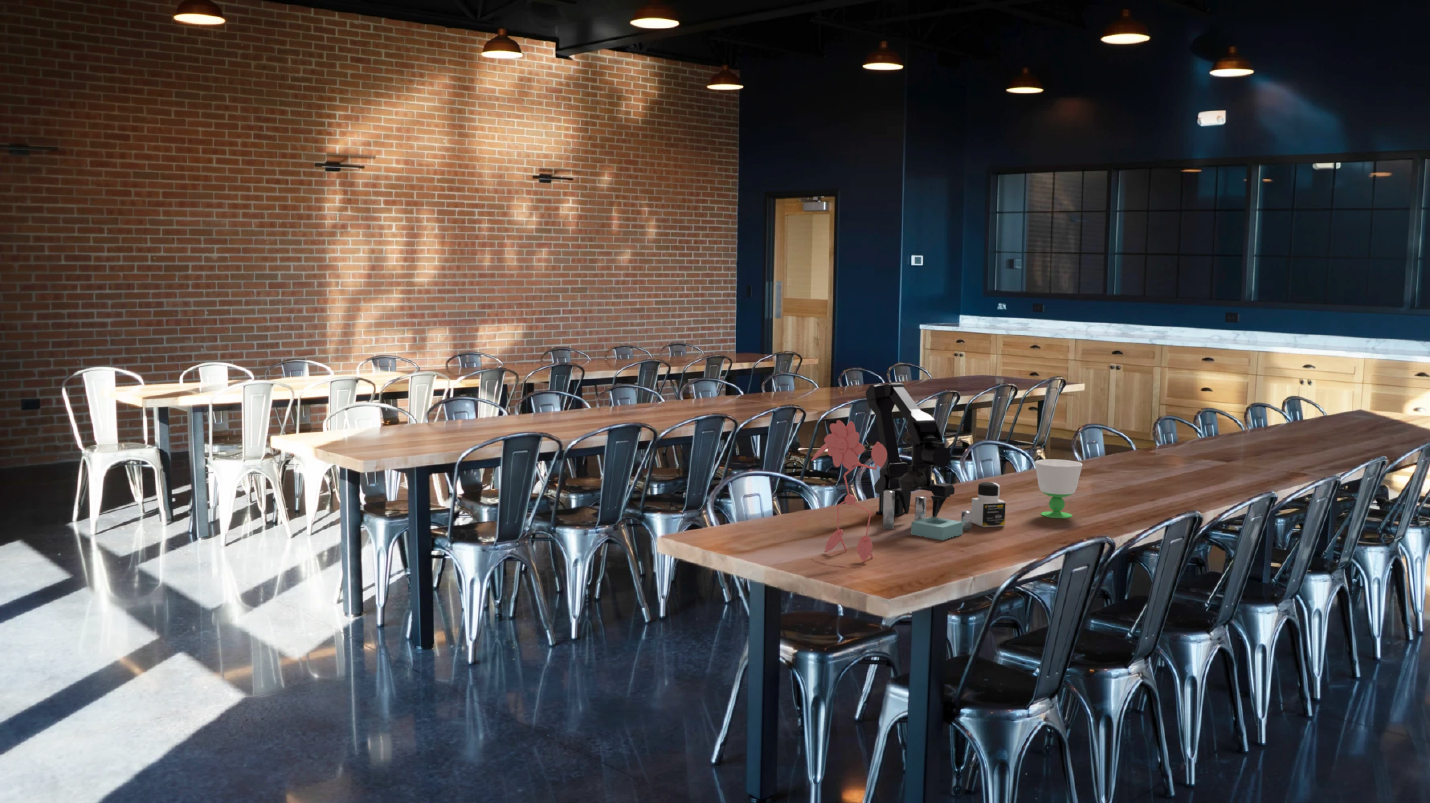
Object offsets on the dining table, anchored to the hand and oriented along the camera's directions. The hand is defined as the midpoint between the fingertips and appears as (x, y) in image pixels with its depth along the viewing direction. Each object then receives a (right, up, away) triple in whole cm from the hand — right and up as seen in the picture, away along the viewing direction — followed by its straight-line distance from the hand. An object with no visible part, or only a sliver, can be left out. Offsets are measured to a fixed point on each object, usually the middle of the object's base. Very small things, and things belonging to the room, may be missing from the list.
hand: (920, 516), depth 329 cm
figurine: (-27, -7, -40) cm, 49 cm away
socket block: (+2, -4, -12) cm, 12 cm away
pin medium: (0, -3, 0) cm, 2 cm away
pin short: (+12, -3, -4) cm, 13 cm away
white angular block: (+20, -3, +2) cm, 20 cm away
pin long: (-10, -3, -4) cm, 11 cm away
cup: (+43, -1, +16) cm, 46 cm away
